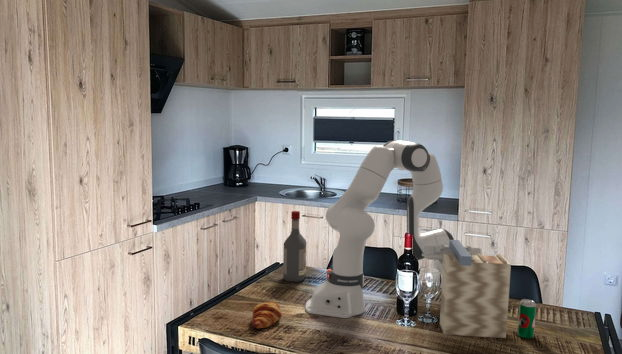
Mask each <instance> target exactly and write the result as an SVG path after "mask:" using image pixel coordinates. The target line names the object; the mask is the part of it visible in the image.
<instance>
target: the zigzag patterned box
mask: <svg viewBox="0 0 622 354" xmlns="http://www.w3.org/2000/svg"><path fill="white" fill-rule="evenodd" d="M469 254H470V253H469ZM470 255H471V254H470ZM471 256H472V259H471V266H465V265H460V263H459V262H458V260H457V259H456V257H455V256H454V254H451V252H447V254H443V272H442V275H441V276H442V277H441V291H440V293H441V297H440V298H441V299H440V310H439V311H440V313H439V315H440V316H439V326H440V328H441V331H442V334H443V335H451V336H452V335H453V336H464V337H465V336H466V337H469V336H470V337H479V338H480V337H483V338H497V339H506V338H507V327H508V314H509V301H510V300H509V299H510V284H511V270H512V269H511V268H512V267H511V266H512V264H511V263H510V262H509V261H508V260H507V259H506V257H504V256H502V255H501V254H498V253H497V254H495V255H483V254H482V253H481V254H480V253H477V255H471Z"/></svg>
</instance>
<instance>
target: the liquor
mask: <svg viewBox="0 0 622 354" xmlns="http://www.w3.org/2000/svg"><path fill="white" fill-rule="evenodd" d="M300 217H301V212H300V211H298V210H293V211H291V218H290V219H291V231H290V234H289V235H288V237H287V238H286V239H285V241H284V242H283V257H282V259H283V267H282V268H283V272H282V274H283V275H282V278H283V280H284V281H286V282H293V281H294V282H295V283H298V282H303V281H304V279H305V278H306V275H307V240H306V239H305V237H304V236H303V235H302V234H301V233H300V232H301V231H300Z"/></svg>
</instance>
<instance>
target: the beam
mask: <svg viewBox="0 0 622 354" xmlns="http://www.w3.org/2000/svg"><path fill="white" fill-rule="evenodd" d="M464 247H465V246H464V245H463V243H462V242H461V241H460V240H459V239H454V240H449V248H450V250H451V251H452V253H453V254H454V256H455V257H456V259H457V260H458V262H459V263H460V265H465V266H471V259H472V256H471V255H470V254H469V253H468V251H467V250H466V249H465V248H464Z"/></svg>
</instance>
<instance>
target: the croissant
mask: <svg viewBox="0 0 622 354" xmlns="http://www.w3.org/2000/svg"><path fill="white" fill-rule="evenodd" d="M281 318H282V312H281V308H280V304H279V302H274V301H265V302H262V303H259V304H257V305H255V307H254V308H253V310H252V326H253V327H254V328H255V329H265V328H269V327H271V326H273V325H275V324H276V323H277V322H278V321H279V320H281Z"/></svg>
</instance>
